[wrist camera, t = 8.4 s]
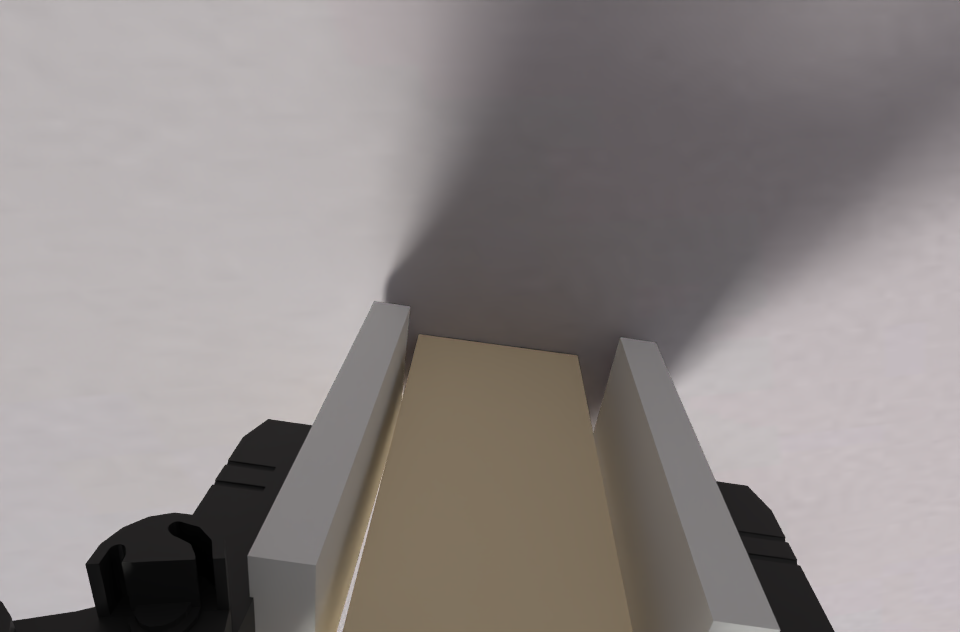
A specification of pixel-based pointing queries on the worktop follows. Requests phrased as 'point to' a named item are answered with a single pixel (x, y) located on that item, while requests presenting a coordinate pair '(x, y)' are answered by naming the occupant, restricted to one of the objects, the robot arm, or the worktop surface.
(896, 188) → the worktop surface
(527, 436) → the tethered block
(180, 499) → the worktop surface
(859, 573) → the worktop surface
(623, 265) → the worktop surface
